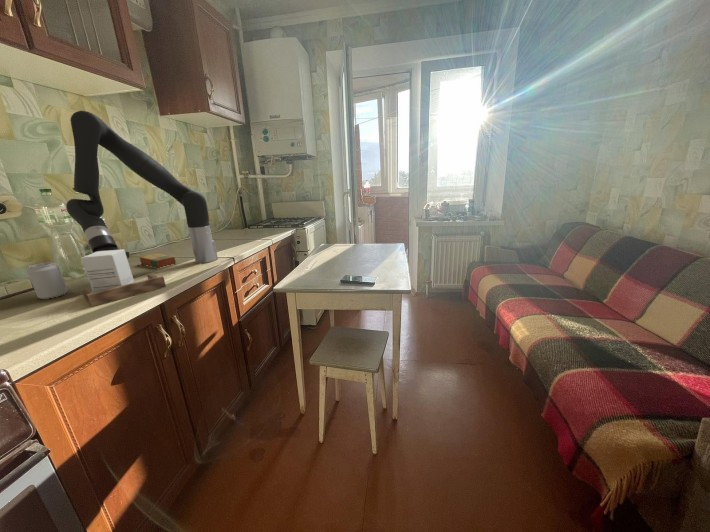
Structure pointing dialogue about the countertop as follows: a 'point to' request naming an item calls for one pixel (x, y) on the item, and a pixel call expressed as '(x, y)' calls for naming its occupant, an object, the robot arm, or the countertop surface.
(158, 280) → the wooden tray
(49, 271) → the can
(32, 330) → the countertop surface
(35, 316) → the countertop surface
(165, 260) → the carton
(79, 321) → the countertop surface
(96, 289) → the supplement box
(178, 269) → the countertop surface
